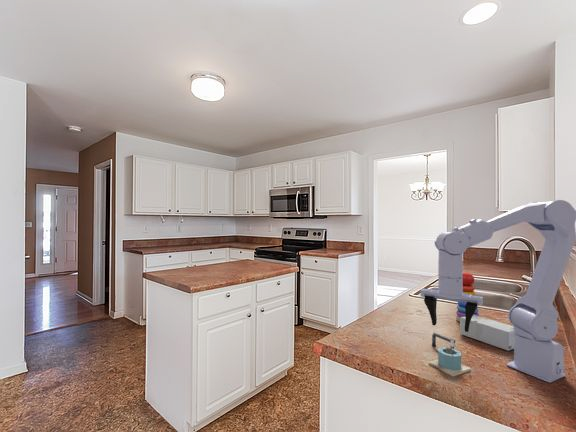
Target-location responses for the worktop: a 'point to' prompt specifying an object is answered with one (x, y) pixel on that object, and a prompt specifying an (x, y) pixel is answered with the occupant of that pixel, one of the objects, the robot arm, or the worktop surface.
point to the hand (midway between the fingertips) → (450, 327)
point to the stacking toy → (467, 289)
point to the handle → (443, 339)
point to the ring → (449, 359)
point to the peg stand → (448, 371)
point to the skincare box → (489, 332)
